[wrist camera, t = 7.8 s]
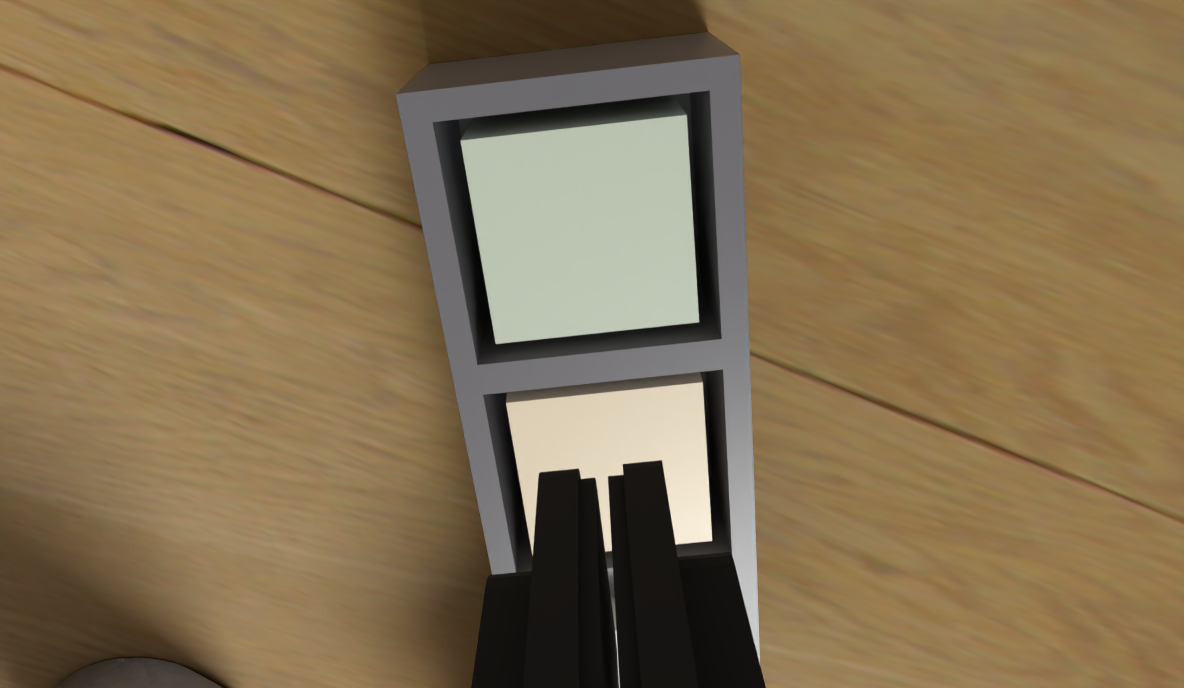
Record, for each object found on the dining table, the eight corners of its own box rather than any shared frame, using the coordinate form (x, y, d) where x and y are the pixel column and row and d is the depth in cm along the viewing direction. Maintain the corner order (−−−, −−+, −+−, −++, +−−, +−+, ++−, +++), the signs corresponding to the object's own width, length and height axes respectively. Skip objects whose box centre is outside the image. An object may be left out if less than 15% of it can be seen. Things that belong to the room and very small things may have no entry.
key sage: (670, 89, 26) (686, 115, 23) (683, 273, 29) (699, 322, 25) (475, 112, 26) (460, 140, 23) (505, 292, 29) (495, 344, 25)
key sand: (686, 327, 30) (702, 382, 26) (696, 472, 32) (712, 540, 29) (513, 346, 30) (506, 402, 26) (537, 489, 32) (533, 558, 29)
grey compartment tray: (708, 31, 27) (739, 54, 22) (737, 634, 37) (762, 741, 32) (427, 64, 27) (395, 94, 22) (535, 653, 38) (529, 763, 33)
